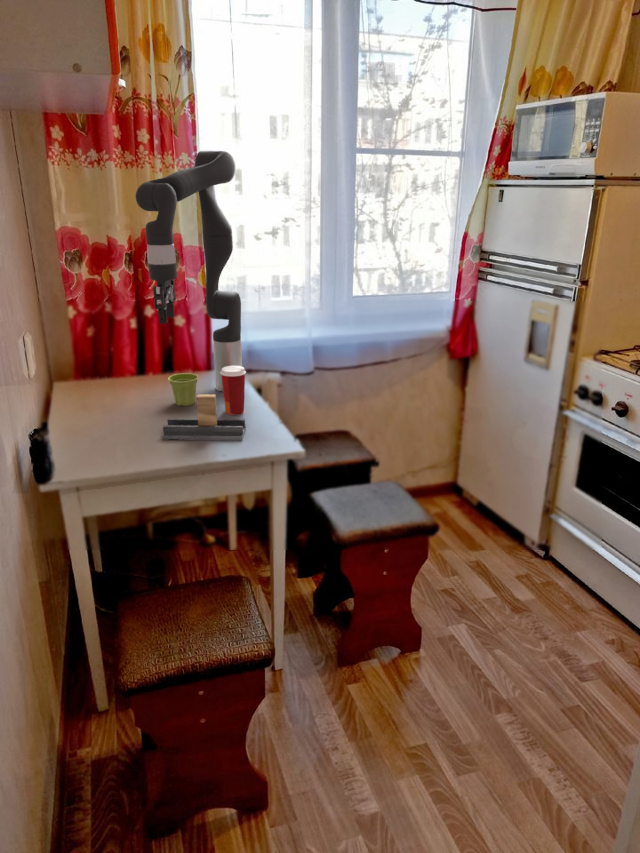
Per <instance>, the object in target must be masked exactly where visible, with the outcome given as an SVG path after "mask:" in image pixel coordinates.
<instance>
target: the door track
mask: <svg viewBox="0 0 640 853" xmlns="http://www.w3.org/2000/svg"><path fill="white" fill-rule="evenodd" d="M166 420H167V425H164V424H163V426H162V435H161V440H162V439H179V440H178V441H243V439H244V435H245V432H246V429H247V423H246V418H240V419H238V418H217V426H198V418H167V419H166ZM183 439H184V440H183Z"/></svg>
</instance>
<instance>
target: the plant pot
mask: <svg viewBox="0 0 640 853" xmlns="http://www.w3.org/2000/svg"><path fill="white" fill-rule="evenodd" d="M167 378H168V379H167V380H168V381H169V383H170V385H171V389H172V393H173V397H174V402H175V404H176V405H177V406H183V407H187V406H191V405H193V404H194V403H196V391H197V383H198V379H199V376H198V375H197V374H194V373H190V372H189V373H187V372H185V373H183V372H182V373H176V374H172V375H170V376H169V377H167Z"/></svg>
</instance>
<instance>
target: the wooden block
mask: <svg viewBox="0 0 640 853" xmlns="http://www.w3.org/2000/svg"><path fill="white" fill-rule="evenodd" d="M195 401H196V411H197V413H196V414H197V419H198V426H217V419H218V413H217V411H218V410H217V396H216V394H197V395H196V396H195Z"/></svg>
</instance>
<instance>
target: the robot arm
mask: <svg viewBox="0 0 640 853" xmlns="http://www.w3.org/2000/svg"><path fill="white" fill-rule="evenodd" d="M194 161H195V162H194V166H193V167H188V168H184V169H181V170H178V171H174V172H173V173H171V174H169V175H167V176H165V177H161V178H156V179H153V180H148V181H145V182H144V183H142V184H141V185H139V186H138V187H137V189H136V191H135V200H136V203H137V206H139V208H140V209H141V210H143V211H145V212H157V215H156V219H155V220H152V221H149V222H147V223H146V224H145V236H146V237H145V238H146V246H147V247H146V249H147V250H146V256H147V266H148V268H147V269H148V278H149V279H150V280H151V281H156V286H153V287H152V289H153V290H152V291H153V292H152V293H153V303H154V304H153V305H154V309H155V310H156V311H157V315H158V323H159V324H164V325H166V324H167V323H168V318H174V317H175V306H174V305H175V301H176V300H177V298H176V291H175V290H176V289H175V281H174V280H176V279H177V278H178V271H177V260H176V258H177V256H176V250H175V244H174V243H175V242H174V230H173V228H174V220H175V215H176V210H177V204H178V203H179V202H181V201H183V200H185V199H187V198H188V197H190V196H192V195H194V194H196V193H198V196H199V197H198V198H199V203H200V205H199V207H200V214H201V216H200V217H201V224H202V225H201V226H202V229H201V230H202V244H203V253H204V255H203V256H204V265H205V305H206V306H205V307H206V312H207V315H208V317H209V318H210V319H211V320H212V319H213V320H225V321H226V320H228V324H227V325H226V326H224V327H221V328H218V329H215V330H214V331H213V332H212V343H213V359H214V361H213V362H214V379H215V381H214V383H215V390H217V391H219V392H222V393H224V392H223V383H222V375H221V374H220V372H221V370H222V368H224V367H226V366H241V367H243V364H242V362H243V361H242V340H241V339H242V338H241V335H242V332H241V331H242V321H241V320H242V301H241V300H242V299H241V295H240V294H239V293H238V292H236V291H231V290H229V291H228V290H227V291H226V290H224V291H223V290H219V283H220V277H221V275H222V272H223V271H224V268H225V267H226V265H227V263H228V262H229V259H230V257H231V256H232V253H233V250H234V248H233V247H234V246H233V245H234V244H233V243H234V242H233V230H232V225H231V223H230V221H229V220H228V218H227V216H226V215H225V213H224V210H222V208H221V206H220V204H219V202H218V199H217V196H216V191H215V186H217V185H221V184H227V183H230V182H231V181H233V179H234V176H235V174H236V167H237V166H236V161H235V158H234V156H233V155H232V153H230V152H228V151H226V150H219V149H217V150H207V149H206V150H200V151H198V152H197V154H196V155H195V160H194Z"/></svg>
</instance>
